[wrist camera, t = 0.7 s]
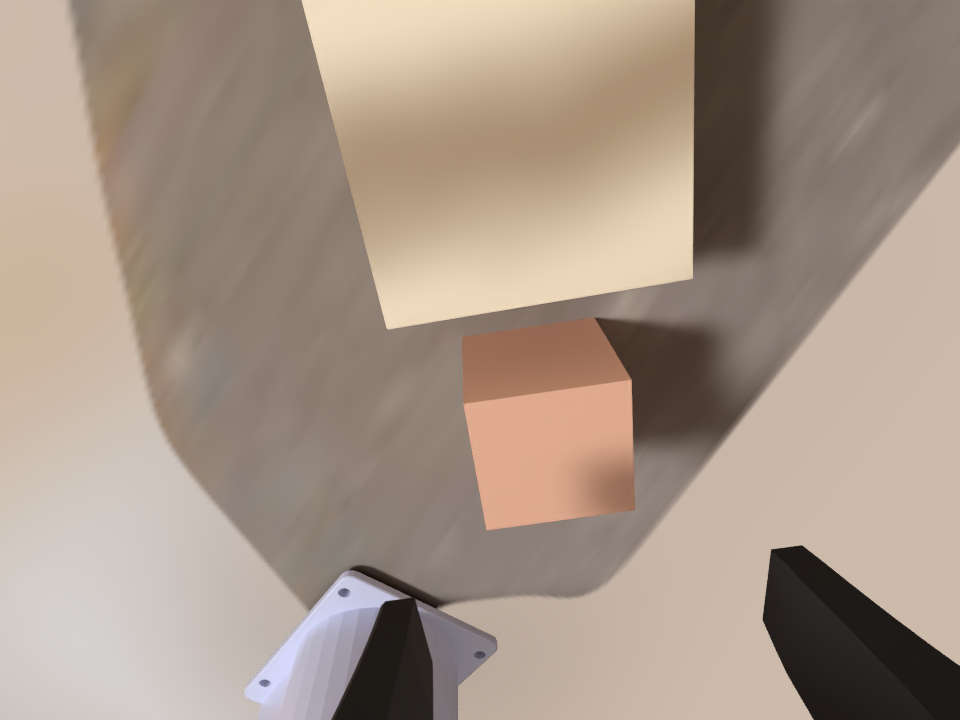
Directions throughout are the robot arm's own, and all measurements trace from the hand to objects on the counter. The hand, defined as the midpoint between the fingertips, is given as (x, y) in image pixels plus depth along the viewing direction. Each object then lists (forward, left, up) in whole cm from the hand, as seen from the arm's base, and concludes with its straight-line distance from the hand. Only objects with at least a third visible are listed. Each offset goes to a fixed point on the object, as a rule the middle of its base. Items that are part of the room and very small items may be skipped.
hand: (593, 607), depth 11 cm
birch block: (+6, +6, -10) cm, 13 cm away
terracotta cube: (0, 0, -10) cm, 10 cm away
